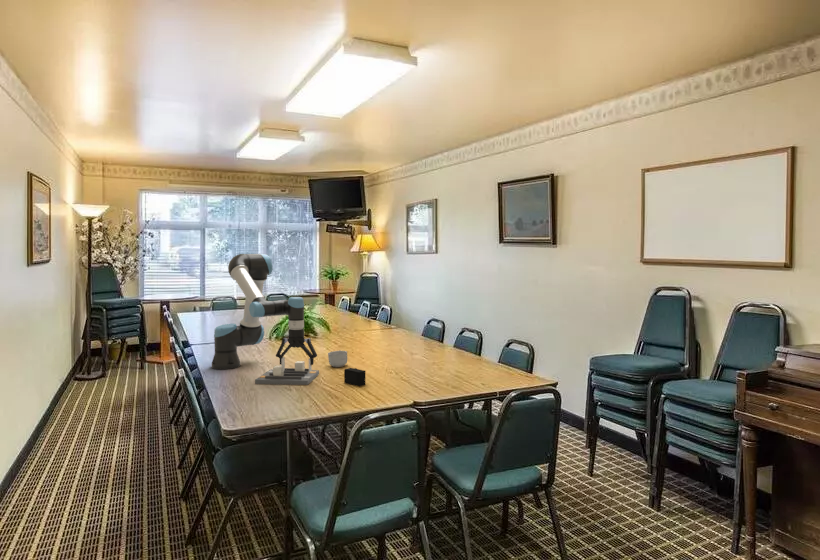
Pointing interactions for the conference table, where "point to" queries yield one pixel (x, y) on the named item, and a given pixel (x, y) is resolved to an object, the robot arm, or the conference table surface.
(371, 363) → the conference table surface
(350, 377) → the digital camera
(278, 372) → the slider near
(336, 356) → the teacup
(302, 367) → the slider far
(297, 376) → the switch base
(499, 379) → the conference table surface
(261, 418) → the conference table surface
